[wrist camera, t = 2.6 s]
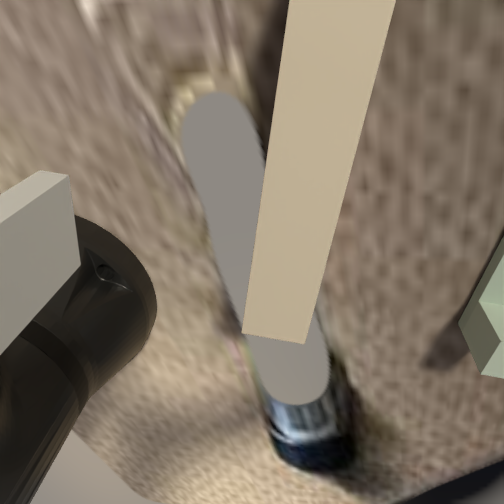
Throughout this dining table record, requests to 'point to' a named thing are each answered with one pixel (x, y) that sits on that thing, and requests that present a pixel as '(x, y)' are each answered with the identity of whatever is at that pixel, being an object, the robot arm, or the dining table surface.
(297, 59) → the clay slat
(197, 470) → the dining table surface
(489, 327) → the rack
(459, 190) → the dining table surface
